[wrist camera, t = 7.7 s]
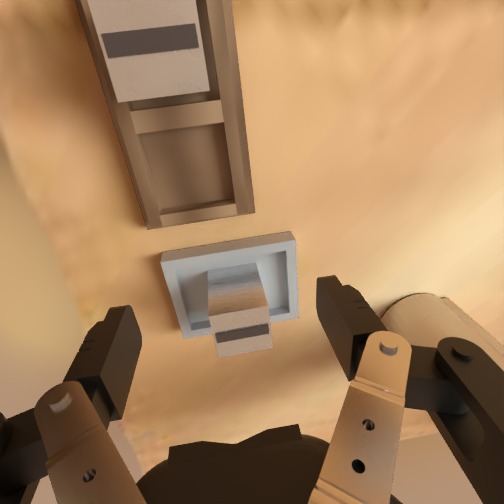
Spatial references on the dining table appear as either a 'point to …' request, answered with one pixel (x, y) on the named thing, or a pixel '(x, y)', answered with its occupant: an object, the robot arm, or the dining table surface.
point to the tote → (226, 255)
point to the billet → (238, 310)
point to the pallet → (186, 132)
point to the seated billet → (151, 47)
